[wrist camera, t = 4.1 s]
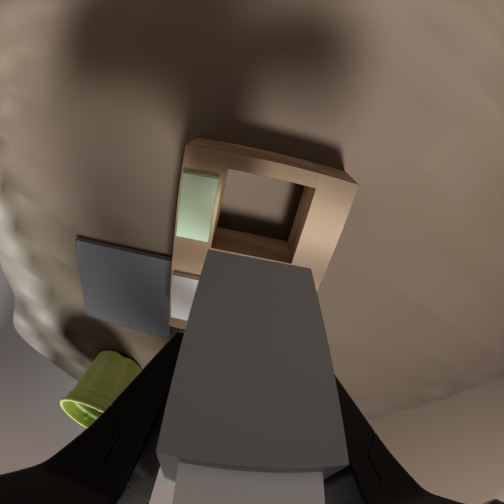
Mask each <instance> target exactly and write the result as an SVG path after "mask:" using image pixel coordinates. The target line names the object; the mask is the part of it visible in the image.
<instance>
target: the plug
mask: <svg viewBox="0 0 504 504" xmlns="http://www.w3.org/2000/svg"><path fill="white" fill-rule="evenodd" d="M156 454H157V457H158V460H159V463H160V466H161V469H162V472H163V475H164V478H165V481H166V484H170V485H175V490H174V496H173V504H325V496H324V483H323V480H324V479H326V478H327V477H329V476H331V475H333V474H335V473H336V472H338V471H340V470H342V469H343V468H345V467H347V466H348V465H349V460H348V452H347V446H346V439H345V432H344V426H343V420H342V414H341V408H340V402H339V397H338V391H337V386H336V380H335V375H334V370H333V365H332V360H331V355H330V350H329V345H328V340H327V336H326V331H325V326H324V322H323V317H322V313H321V309H320V304H319V300H318V296H317V291H316V287H315V283H314V279H313V275H312V271H311V268H306V267H300V266H295V265H290V264H284V263H279V262H274V261H268V260H263V259H258V258H252V257H247V256H242V255H236V254H231V253H226V252H220V251H215V250H210V249H208V251H207V254H206V258H205V261H204V264H203V268H202V271H201V275H200V278H199V281H198V285H197V288H196V292H195V295H194V299H193V303H192V306H191V310H190V313H189V317H188V321H187V324H186V328H185V332H184V335H183V339H182V343H181V347H180V351H179V355H178V359H177V362H176V366H175V370H174V374H173V379H172V383H171V387H170V391H169V395H168V399H167V404H166V408H165V412H164V417H163V421H162V426H161V430H160V435H159V439H158V444H157V449H156Z"/></svg>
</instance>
